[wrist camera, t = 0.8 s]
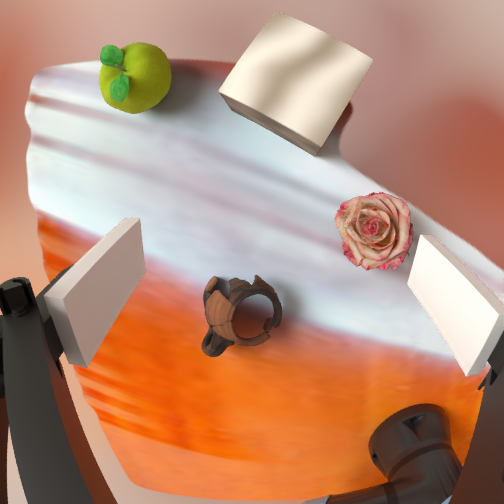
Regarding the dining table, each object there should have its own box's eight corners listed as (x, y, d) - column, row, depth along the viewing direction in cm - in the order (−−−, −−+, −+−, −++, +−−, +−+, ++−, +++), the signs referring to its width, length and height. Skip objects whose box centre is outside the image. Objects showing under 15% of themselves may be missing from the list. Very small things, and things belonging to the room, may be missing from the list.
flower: (423, 206, 34) (413, 187, 28) (413, 279, 34) (402, 276, 28) (355, 200, 40) (331, 182, 34) (344, 267, 40) (319, 262, 34)
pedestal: (358, 83, 34) (373, 59, 26) (314, 156, 37) (321, 146, 29) (278, 41, 34) (276, 10, 26) (231, 110, 36) (218, 90, 29)
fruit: (131, 130, 38) (91, 116, 29) (117, 78, 37) (80, 56, 27) (190, 103, 37) (162, 78, 27) (173, 50, 36) (144, 18, 26)
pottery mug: (218, 252, 41) (242, 267, 33) (271, 282, 45) (303, 300, 38) (174, 330, 40) (189, 360, 33) (231, 353, 44) (254, 382, 37)
